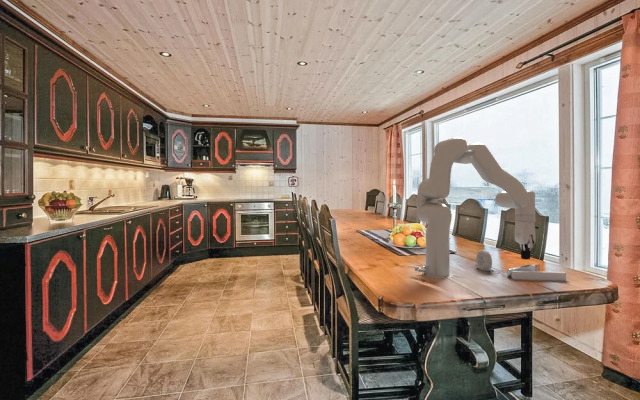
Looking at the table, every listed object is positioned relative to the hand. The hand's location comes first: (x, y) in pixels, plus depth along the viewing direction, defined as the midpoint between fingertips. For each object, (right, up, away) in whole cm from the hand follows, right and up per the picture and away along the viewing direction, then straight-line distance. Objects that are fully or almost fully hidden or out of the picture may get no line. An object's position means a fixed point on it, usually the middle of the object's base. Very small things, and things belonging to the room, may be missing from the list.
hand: (525, 258), depth 142 cm
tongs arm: (-7, -5, -9) cm, 12 cm away
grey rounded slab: (-19, -6, 0) cm, 20 cm away
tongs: (-6, -6, -13) cm, 16 cm away
